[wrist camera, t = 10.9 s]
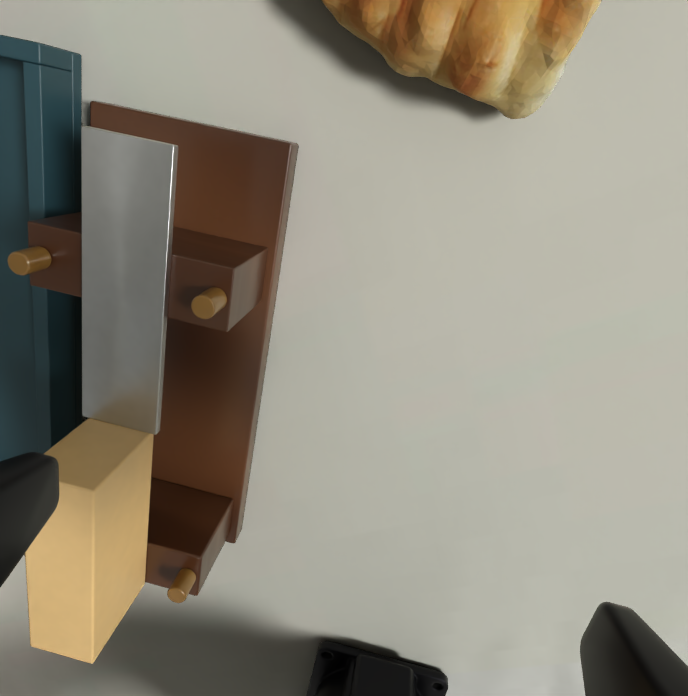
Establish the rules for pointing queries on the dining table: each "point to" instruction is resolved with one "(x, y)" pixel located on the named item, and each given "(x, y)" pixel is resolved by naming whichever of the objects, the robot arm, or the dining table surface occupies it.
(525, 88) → the pastry
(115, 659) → the dining table surface
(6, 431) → the cutlery tray
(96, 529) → the knife
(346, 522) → the dining table surface
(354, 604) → the dining table surface
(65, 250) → the knife rack
